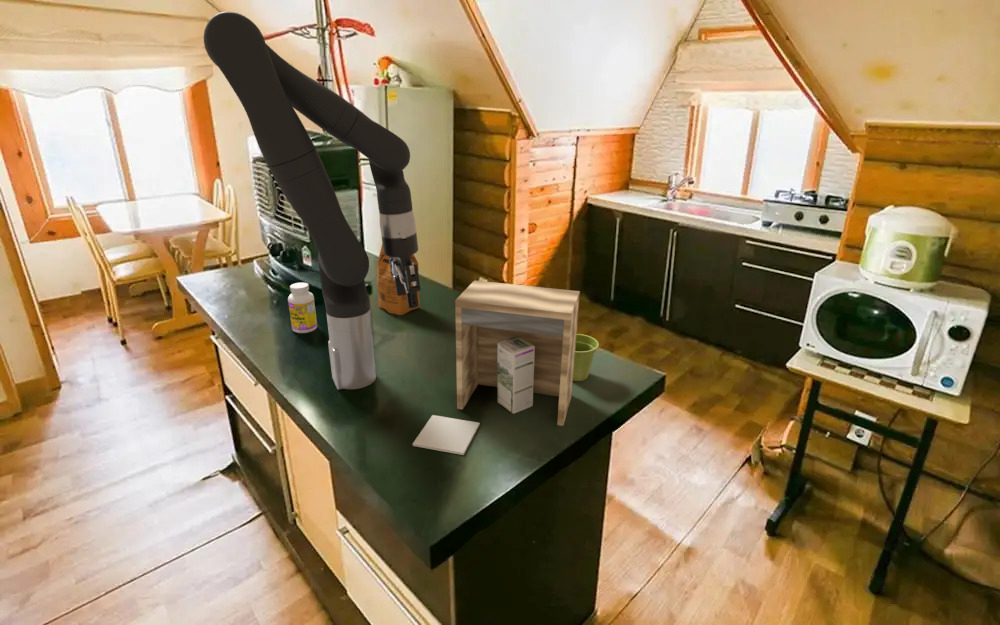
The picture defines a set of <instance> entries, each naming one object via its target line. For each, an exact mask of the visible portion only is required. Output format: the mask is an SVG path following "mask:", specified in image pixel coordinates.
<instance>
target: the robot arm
mask: <svg viewBox="0 0 1000 625" xmlns="http://www.w3.org/2000/svg"><path fill="white" fill-rule="evenodd" d="M203 44H204V49H205V51H206V53H207V56H208V57H209V59H210V61H212V62H213V64H214V65H215V66H217V67H218V69H219V71H221V74H223V76H224V77H225V78H226V81H227V82H228V83H229V85H230V87H231V88H232V90H233V92H234V94H236V97H237V98H238V100H239V101H240V103H241V105H242V107H243V109H244V111H245V113H246V116H247V118H248V120H249V123H250V126H251V130H252V132H253V135H254V137H255V140H256V143H257V145H258V147H259V150H260V152H261V154H262V157H263V159H264V162H265V164H266V166H268V169H269V171H270V172H271V174H272V177H273V178H274V180H275V182H276V184H277V186H278V187H279V189H280V191H281V192H282V193H283V195H284V197H285V199H286V200H287V201H288V203H289V205H290V206H291V207H292V210H294V211H295V213H296V214H297V216H298V217H299V219H300V220H301V221H302V222H303V224H304V226H305V227H306V228H307V230H308V233H309V234H310V236H311V238H312V240H313V243H314V244H315V247H316V250H317V252H318V253H317V254H318V255H317V262H318V268H319V277H320V283H321V284H320V285H321V292H322V297H323V301H324V306H325V313H326V314H325V315H326V322H327V330H328V339H329V340H328V341H327V343H328V353H329V361H330V369H331V379H332V380H333V382H334V385H335V387H336V389H337V390H343V389H344V390H358V389H362V388H366V387H367V386H370V385H371V384H373V383H374V382H375V381H376V380H377V379H376V377H377V375H376V374H377V373H376V372H377V370H376V362H375V350H374V338H373V328H372V326H373V325H372V314H371V302H370V296H369V293H368V290H367V287H366V286H367V285H366V277H367V275H368V273H369V270H370V260H369V256H368V253H367V251H366V250H365V248H364V246H363V245H362V244H361V243H360V241H359V239H358V238H357V236H356V234H355V232H354V231H353V229H352V227H351V226H350V225H349V222H348V221H347V219H346V217H345V215H344V212H343V211H342V208H341V205H340V202H339V200H338V197H337V194H336V191H335V189H334V186H333V184H332V180H331V179H330V176H329V174H328V173H327V170H326V167H325V165H324V163H323V161H322V159H321V157H320V154H319V153H318V150H317V148H316V146H315V144H314V142H313V141H312V139H311V137H310V135H309V133H308V131H307V129H306V127H305V126H304V124H303V122H302V121H301V119H300V117H299V115H298V113H300V114H301V115H302V116H304V117H305V118H306V119H307V120H309V121H311V122H312V123H313V124H314V125H316V126H317V127H319V128H320V129H322V130H323V131H325V132H326V133H328V134H329V135H330V136H332V137H334V138H335V139H337V141H339V142H341V143H343V144H344V145H346V146H348V147H350V148H352V149H354V150H356V151H357V152H359V153H360V154H362V155H363V156H364V157H366V158H367V159H368V164H369V167H370V172H371V176H372V179H373V183H374V186H375V190H376V198H377V207H378V212H379V214H378V215H379V221H378V222H379V229H380V238H381V242H382V243H381V245H382V244H383V251H384V254H385V255H386V256H389V264H390V273H391V275H393V279H394V280H395V286H396V293H397V295H398V296H401V295H405V294H406V295H407V303H408V307H409V308H415V307H418V297H417V291H419V292H421V283H420V276H419V275H420V274H419V275H418V273H419V270H418V268H419V265H418V266H417V264H414V263H413V261H412V260H411V256H412V255H413V254H414V255H415V254H416V253H417V252H418V251H419V245H418V243H419V242H418V235H417V226H416V220H415V214H414V210H413V200H412V193H411V189H410V186H409V184H408V183H407V182H406V180H405V176H404V174H405V173H404V170H405V169H406V168H407V166H408V165H409V163H410V160H411V152H410V148H409V146H408V145H407V143H406V141H404V139H402V138H401V137H400V136H399V135H397V134H395V133H394V132H392V131H390V130H389V129H387V128H386V127H384V126H383V125H381V124H379V123H378V122H376V121H374V120H372V119H371V118H370V117H369V116H367V115H366V114H365V113H364V112H363V111H361V110H360V109H359V108H358V107H356V106H355V105H353V104H352V103H350V101H348V100H347V99H345V98H343V97H342V96H340V94H338V93H336V92H334V91H333V90H331V89H330V88H328V87H327V86H325V85H323V84H322V83H320V82H318V81H316V80H315V79H313V78H312V77H309V76H308V75H306V74H305V73H303V72H302V71H300V70H299V69H298V68H296V67H294V66H293V65H292V64H290V63H289V62H288V61H286V60H285V59H284V58H282V57H281V56H280V55H279V54H278V53H277V52H276V51H274V49H273V48H271V47H270V46H269V45H268V44H267V43H266V40H265V38H264V35H263V33H262V32H261V29H259V27H258V26H257V25H256V24H255V23H254V22H253V21H252V20H251V19H250V18H248V17H247V16H245V15H243V14H242V13H238V12H234V11H221V12H218V13H217V14H215V15H213V16H212V17H211V18H210V19H209V20H208V22H207V23H206V24H205V28H204V31H203ZM296 111H297V112H298V113H297V112H296ZM411 282H412V283H413V286H412V287H411ZM418 308H419V307H418Z"/></svg>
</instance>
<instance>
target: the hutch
mask: <svg viewBox="0 0 1000 625" xmlns="http://www.w3.org/2000/svg"><path fill="white" fill-rule="evenodd" d="M580 294H581V291H580V290H569V289H559V288H551V287H543V286H542V287H541V286H531V285H523V284H514V283H513V284H512V283H503V282H502V283H501V282H495V281H492V282H491V281H484V280H483V281H482V280H473V281H472V282H471V283H470V284H469V285H468V287H466V289H464V291H462V293H461V294H459V296H458V297H457V298H456V299H454V301H455V302H454V303H455V304H454V306H455V310H454V311H455V351H456V352H455V353H456V354H455V358H456V365H455V366H456V368H455V369H456V370H455V371H456V409H457V410H464V408H465V406H466V405H467V404H468V402H469V400H470V398H471V396H472V395H473V394H474V392H475V390H476V389H477V387H478V385H481V386H487V387H489V386H490V387H496V388H497V353H498V351H497V350H498V342H501V341H504V340H506V339H509V338H513V337H520V338H522V339H523V340H525V341H527V342H529V343H530V344H532V345H534V346H535V356H534V382H533V394H534V393H535V394H541V395H547V396H554V397H558V409H557V411H558V412H557V421H556V422H557V424H556V425H557V426H561V427H564V425H565V421H566V418H567V414H568V411H569V410H568V409H569V407H570V403H571V399H572V396H573V386H574V385H573V384H574V381H573V373H574V360H575V347H576V334H578V333H577V332H578V321H579V320H578V319H579V308H580V306H579V305H580V296H581V295H580Z"/></svg>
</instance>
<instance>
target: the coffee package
mask: <svg viewBox="0 0 1000 625" xmlns="http://www.w3.org/2000/svg"><path fill="white" fill-rule="evenodd" d="M411 260H412V261H413V263H414V264H417V266H418V271H420V270H419V262H418V260H417V258H416V256H415V254H413V255H412V256H411ZM376 268H377V270H376V271H377V272H376V273H377V274H376V275H377V276H376V278H377V279H376V288H377V296H378V297H377V298H378V308H379V309H382V310H385V311H386V312H387V313H389V314H392V315H398V316H404V315H406V314H407V313H409V312H411V311H414V310H417V309H419V308H420V307H421V304H420V303H421V302H420V298H421V297H420V291H417V297H418V307H415V308H409V307H408V303H407V295H406V294H405V295H401V296H398V295H397V293H396V286H395V280H394V279H393V275H391V273H390V264H389V256H386V255H385V254H384V251H383V244H382V243H381V247H380V251H379V255H378V260H377V267H376ZM418 275H420V273H419V272H418ZM412 286H413V283H412V282H411V287H412Z"/></svg>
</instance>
